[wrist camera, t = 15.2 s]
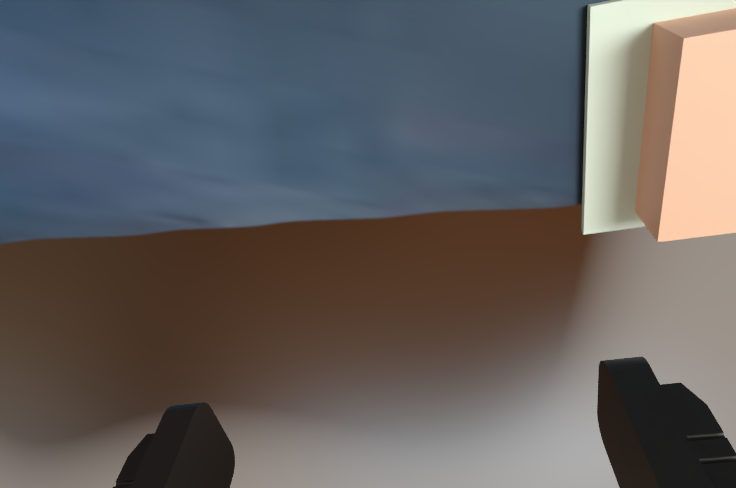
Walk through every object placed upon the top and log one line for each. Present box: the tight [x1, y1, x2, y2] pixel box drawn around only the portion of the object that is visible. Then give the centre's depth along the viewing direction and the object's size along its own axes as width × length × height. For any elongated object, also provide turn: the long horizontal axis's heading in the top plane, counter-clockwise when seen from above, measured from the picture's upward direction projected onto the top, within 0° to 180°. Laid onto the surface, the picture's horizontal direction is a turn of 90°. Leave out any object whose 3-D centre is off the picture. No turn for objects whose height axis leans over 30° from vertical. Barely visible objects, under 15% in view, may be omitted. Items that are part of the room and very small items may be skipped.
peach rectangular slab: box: [635, 8, 736, 242], centre depth 33 cm, size 13×5×4 cm, turn 11°
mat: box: [581, 0, 736, 235], centre depth 34 cm, size 16×12×1 cm
